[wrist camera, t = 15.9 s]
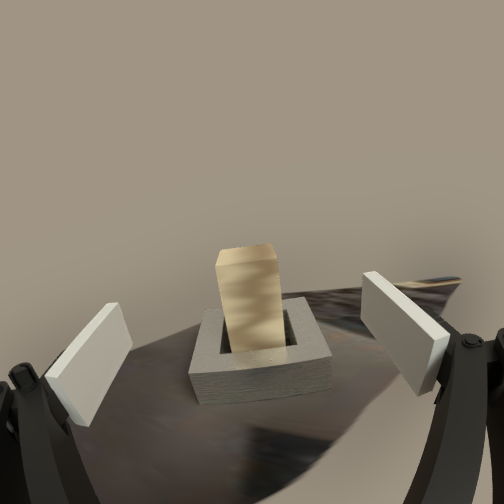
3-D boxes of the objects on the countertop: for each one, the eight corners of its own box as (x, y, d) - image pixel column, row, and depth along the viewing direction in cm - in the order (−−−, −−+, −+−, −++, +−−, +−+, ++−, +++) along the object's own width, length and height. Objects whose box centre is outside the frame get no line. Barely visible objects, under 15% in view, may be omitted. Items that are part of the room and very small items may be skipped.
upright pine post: (237, 379, 25) (215, 266, 22) (238, 350, 30) (220, 249, 27) (288, 373, 25) (277, 258, 22) (282, 345, 30) (271, 243, 27)
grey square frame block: (199, 404, 22) (188, 373, 21) (211, 337, 34) (205, 309, 32) (330, 388, 22) (332, 355, 21) (305, 324, 33) (304, 296, 32)
